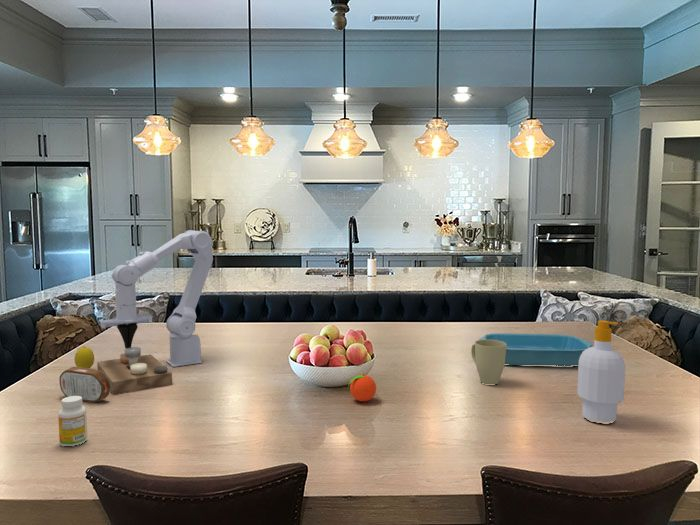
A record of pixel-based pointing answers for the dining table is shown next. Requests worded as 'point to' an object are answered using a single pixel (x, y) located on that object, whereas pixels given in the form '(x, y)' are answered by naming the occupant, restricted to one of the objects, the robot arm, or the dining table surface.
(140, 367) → the knob cream
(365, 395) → the clementine
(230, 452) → the dining table surface
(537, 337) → the casserole dish
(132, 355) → the knob slate
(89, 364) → the lemon
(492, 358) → the mug
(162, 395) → the dining table surface
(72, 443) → the supplement bottle
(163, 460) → the dining table surface
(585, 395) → the soap bottle
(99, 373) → the tin
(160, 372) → the board
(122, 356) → the peach pink ball
